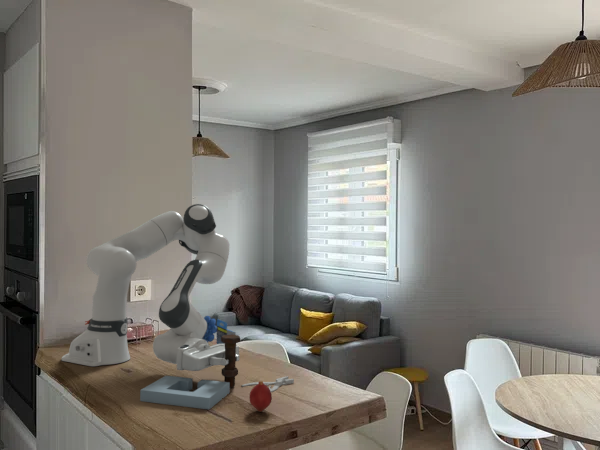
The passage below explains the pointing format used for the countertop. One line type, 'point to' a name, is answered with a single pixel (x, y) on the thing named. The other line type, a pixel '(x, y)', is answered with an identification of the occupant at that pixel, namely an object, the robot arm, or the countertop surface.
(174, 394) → the pocket frame
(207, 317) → the grapes
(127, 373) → the countertop surface
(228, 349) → the bolt
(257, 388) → the onion
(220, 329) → the label tape box
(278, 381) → the pliers
